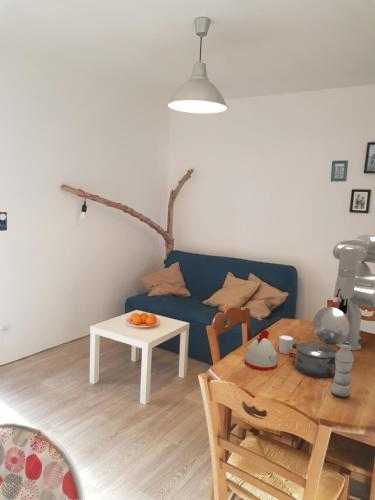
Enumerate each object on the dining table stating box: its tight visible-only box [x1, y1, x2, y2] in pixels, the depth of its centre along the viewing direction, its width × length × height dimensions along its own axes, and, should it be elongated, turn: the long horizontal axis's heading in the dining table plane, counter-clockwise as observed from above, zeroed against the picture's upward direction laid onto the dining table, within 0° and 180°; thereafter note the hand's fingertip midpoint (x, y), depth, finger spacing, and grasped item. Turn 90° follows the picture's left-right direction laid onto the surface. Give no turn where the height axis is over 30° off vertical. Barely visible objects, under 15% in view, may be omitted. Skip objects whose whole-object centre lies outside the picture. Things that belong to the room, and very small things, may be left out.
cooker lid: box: [312, 306, 350, 346], centre depth 170 cm, size 16×16×3 cm
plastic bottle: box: [330, 342, 355, 398], centre depth 142 cm, size 6×7×20 cm
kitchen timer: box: [244, 329, 278, 372], centre depth 167 cm, size 14×14×15 cm
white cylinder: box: [278, 334, 295, 355], centre depth 182 cm, size 7×7×7 cm
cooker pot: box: [292, 341, 338, 379], centre depth 163 cm, size 17×25×9 cm, turn 41°
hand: (342, 312), depth 175 cm, fingers closed
